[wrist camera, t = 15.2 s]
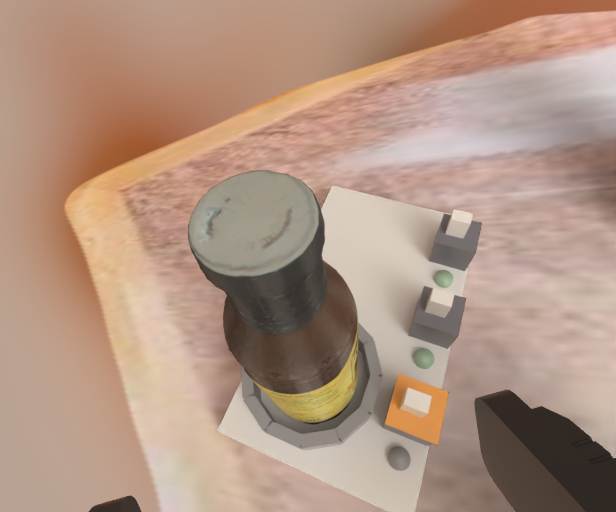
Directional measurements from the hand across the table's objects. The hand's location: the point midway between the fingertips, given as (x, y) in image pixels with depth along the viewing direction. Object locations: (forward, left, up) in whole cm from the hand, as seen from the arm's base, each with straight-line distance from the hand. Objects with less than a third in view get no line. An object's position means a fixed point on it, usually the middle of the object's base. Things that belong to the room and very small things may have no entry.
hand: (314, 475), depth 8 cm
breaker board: (-11, -2, -21) cm, 24 cm away
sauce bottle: (-5, -4, -19) cm, 20 cm away
